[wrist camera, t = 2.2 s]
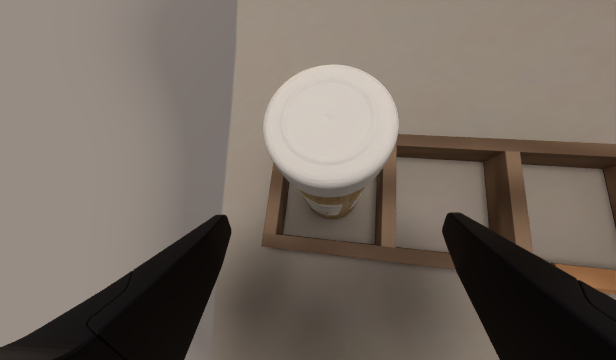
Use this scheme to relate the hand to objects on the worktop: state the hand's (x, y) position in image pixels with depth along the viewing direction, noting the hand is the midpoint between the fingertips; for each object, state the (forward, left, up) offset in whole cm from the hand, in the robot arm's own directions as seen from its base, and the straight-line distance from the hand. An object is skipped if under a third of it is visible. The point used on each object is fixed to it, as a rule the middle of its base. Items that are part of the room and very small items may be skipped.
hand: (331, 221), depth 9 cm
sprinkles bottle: (+3, 0, -11) cm, 11 cm away
